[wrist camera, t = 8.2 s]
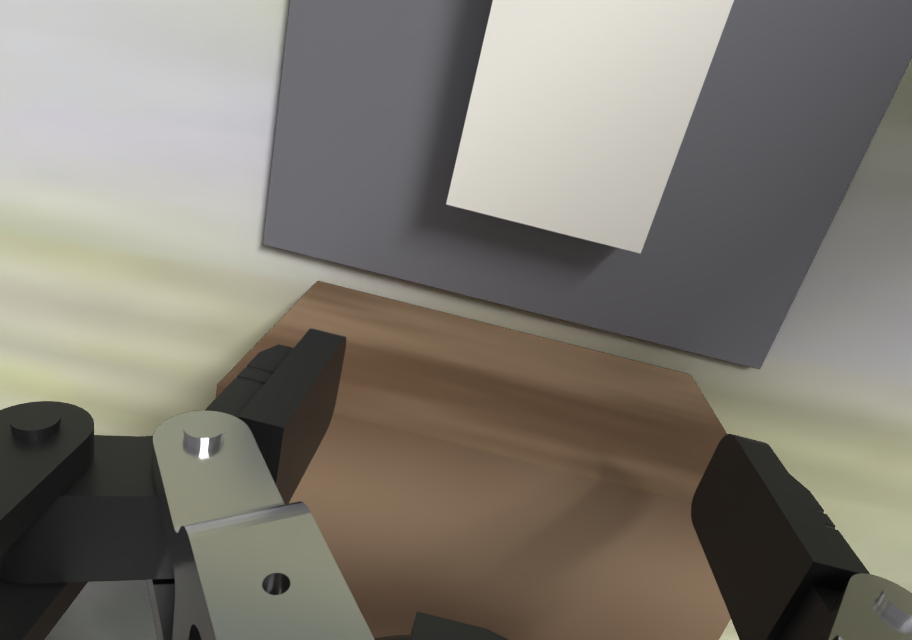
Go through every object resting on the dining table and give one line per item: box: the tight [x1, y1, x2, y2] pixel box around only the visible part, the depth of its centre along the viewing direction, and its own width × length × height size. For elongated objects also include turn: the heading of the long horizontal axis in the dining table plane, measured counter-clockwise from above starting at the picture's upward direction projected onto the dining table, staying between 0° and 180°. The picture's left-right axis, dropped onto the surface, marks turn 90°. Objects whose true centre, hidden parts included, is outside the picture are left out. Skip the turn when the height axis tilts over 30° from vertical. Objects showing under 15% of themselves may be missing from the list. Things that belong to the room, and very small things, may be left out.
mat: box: [263, 0, 912, 369], centre depth 18 cm, size 14×18×1 cm
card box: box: [446, 0, 734, 254], centre depth 17 cm, size 10×6×2 cm, turn 167°
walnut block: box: [216, 281, 731, 640], centre depth 20 cm, size 12×14×8 cm
